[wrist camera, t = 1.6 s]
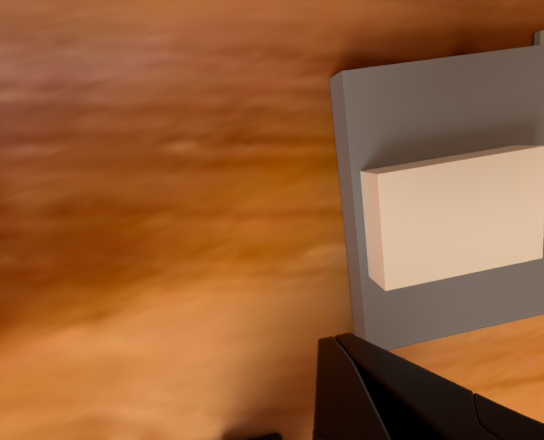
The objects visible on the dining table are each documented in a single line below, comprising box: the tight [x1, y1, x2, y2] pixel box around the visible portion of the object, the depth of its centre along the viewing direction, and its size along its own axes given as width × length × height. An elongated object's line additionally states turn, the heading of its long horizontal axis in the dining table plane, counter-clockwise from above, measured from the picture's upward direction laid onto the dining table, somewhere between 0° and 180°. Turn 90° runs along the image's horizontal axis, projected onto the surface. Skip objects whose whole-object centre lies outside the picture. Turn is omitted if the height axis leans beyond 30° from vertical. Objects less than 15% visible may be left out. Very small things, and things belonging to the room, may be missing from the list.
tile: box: [360, 145, 544, 291], centre depth 18 cm, size 9×6×2 cm, turn 98°
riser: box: [329, 44, 544, 350], centre depth 20 cm, size 16×12×2 cm
